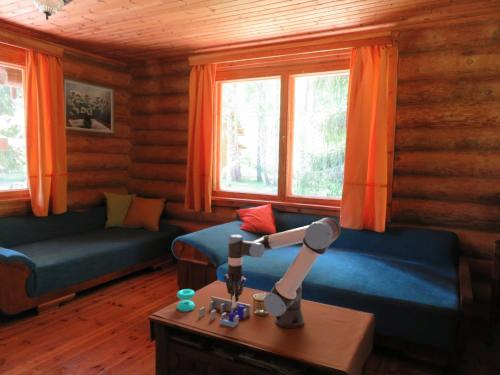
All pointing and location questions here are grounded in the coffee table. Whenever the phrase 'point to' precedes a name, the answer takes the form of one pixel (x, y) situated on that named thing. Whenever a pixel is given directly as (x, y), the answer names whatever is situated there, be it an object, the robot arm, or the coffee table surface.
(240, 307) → the blue curved block
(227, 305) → the grey peg rack
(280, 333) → the coffee table surface
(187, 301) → the donuts
